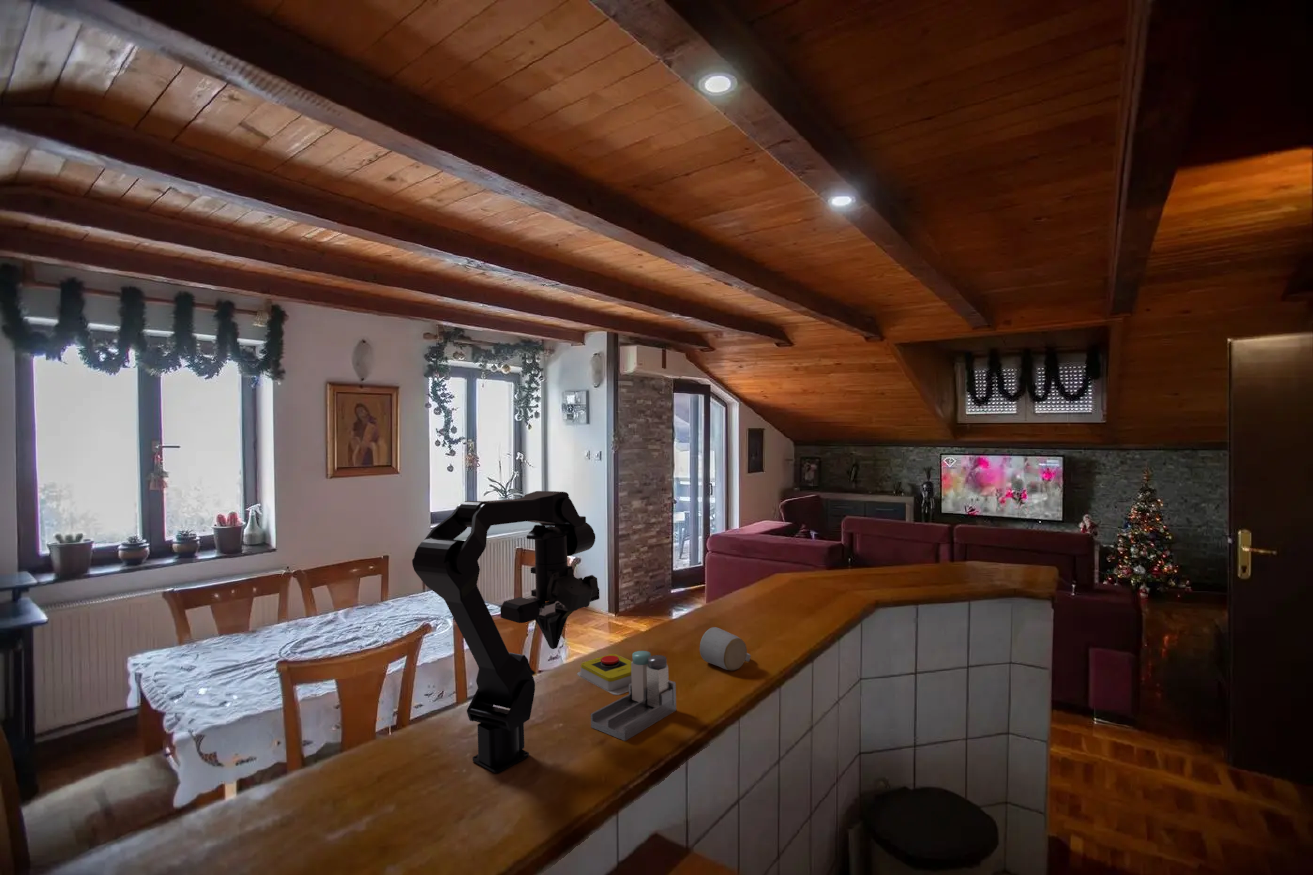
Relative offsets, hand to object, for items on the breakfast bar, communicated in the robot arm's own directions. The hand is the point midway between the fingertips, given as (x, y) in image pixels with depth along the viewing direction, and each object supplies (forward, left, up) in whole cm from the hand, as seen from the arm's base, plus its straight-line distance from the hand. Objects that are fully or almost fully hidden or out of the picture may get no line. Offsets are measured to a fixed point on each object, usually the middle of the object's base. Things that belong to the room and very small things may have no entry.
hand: (553, 648), depth 110 cm
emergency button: (+20, +5, -14) cm, 25 cm away
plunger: (+13, -9, -11) cm, 20 cm away
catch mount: (+9, -11, -13) cm, 19 cm away
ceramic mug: (+40, -11, -13) cm, 44 cm away
